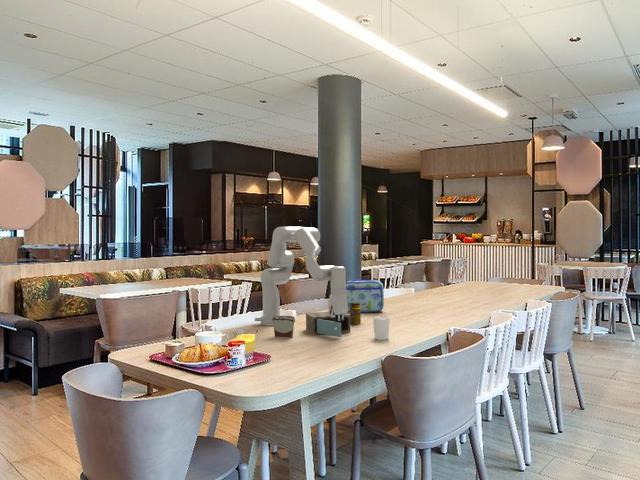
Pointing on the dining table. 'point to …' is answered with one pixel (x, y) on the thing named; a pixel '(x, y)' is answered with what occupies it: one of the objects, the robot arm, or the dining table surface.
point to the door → (329, 327)
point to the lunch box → (365, 294)
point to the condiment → (355, 314)
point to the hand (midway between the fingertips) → (339, 328)
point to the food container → (283, 326)
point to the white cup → (381, 328)
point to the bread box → (312, 319)
